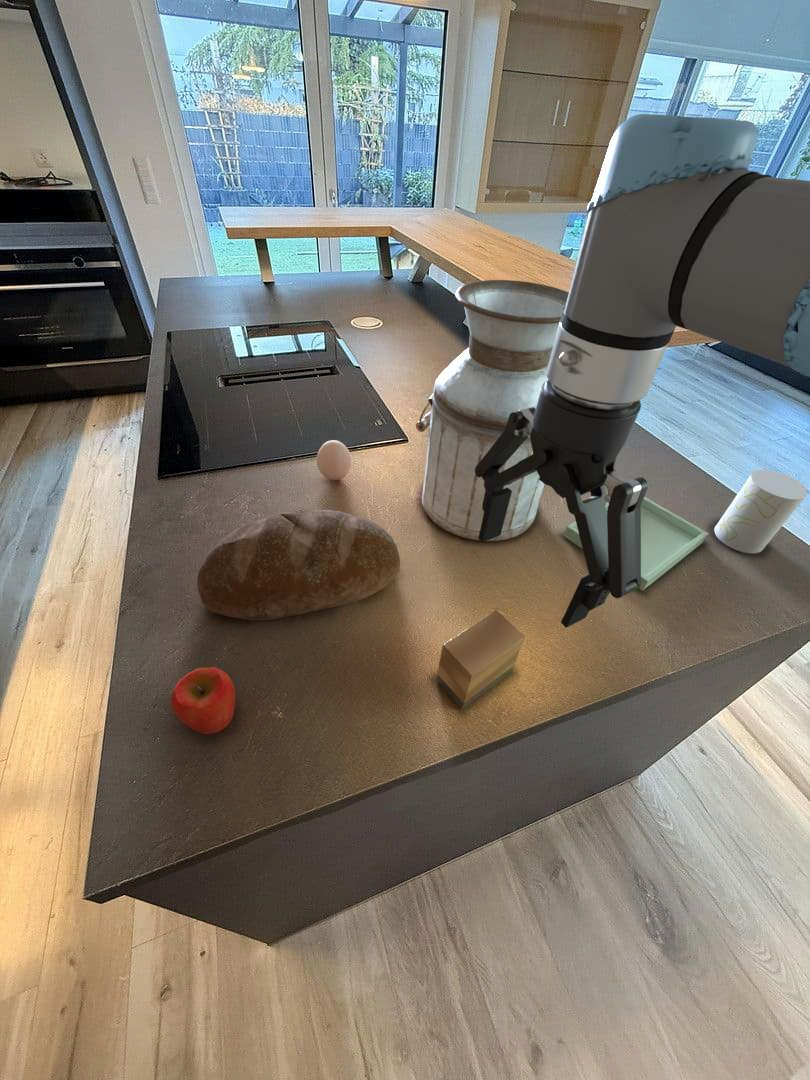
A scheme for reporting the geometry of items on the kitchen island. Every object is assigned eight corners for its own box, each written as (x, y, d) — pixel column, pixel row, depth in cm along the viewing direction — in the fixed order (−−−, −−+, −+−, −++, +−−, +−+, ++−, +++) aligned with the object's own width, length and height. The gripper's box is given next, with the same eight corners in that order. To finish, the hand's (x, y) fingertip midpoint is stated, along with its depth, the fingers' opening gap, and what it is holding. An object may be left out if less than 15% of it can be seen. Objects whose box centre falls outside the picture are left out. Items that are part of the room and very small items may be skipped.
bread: (204, 562, 72) (184, 506, 64) (384, 532, 80) (385, 478, 72) (203, 644, 62) (179, 588, 54) (411, 601, 69) (417, 546, 61)
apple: (228, 684, 58) (214, 650, 52) (252, 721, 54) (239, 689, 49) (178, 715, 54) (158, 682, 49) (199, 756, 51) (180, 725, 46)
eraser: (511, 671, 61) (525, 636, 56) (461, 709, 57) (471, 675, 51) (485, 645, 64) (496, 609, 58) (435, 680, 59) (442, 644, 54)
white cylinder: (704, 524, 86) (740, 471, 78) (742, 521, 87) (780, 468, 79) (735, 555, 80) (776, 501, 72) (774, 551, 81) (819, 497, 73)
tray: (702, 542, 82) (708, 533, 80) (642, 591, 73) (648, 581, 71) (625, 497, 91) (630, 488, 89) (563, 535, 81) (567, 526, 80)
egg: (313, 471, 92) (310, 436, 86) (345, 464, 94) (344, 430, 89) (324, 490, 88) (321, 454, 82) (357, 482, 90) (356, 447, 84)
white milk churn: (558, 496, 90) (628, 297, 65) (521, 563, 76) (593, 341, 51) (444, 456, 98) (469, 266, 74) (392, 510, 84) (402, 297, 60)
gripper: (460, 338, 42) (436, 517, 56) (710, 489, 26) (589, 682, 41) (523, 328, 44) (485, 501, 59) (781, 458, 29) (644, 648, 44)
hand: (527, 575), depth 50 cm, fingers open, 13 cm apart
